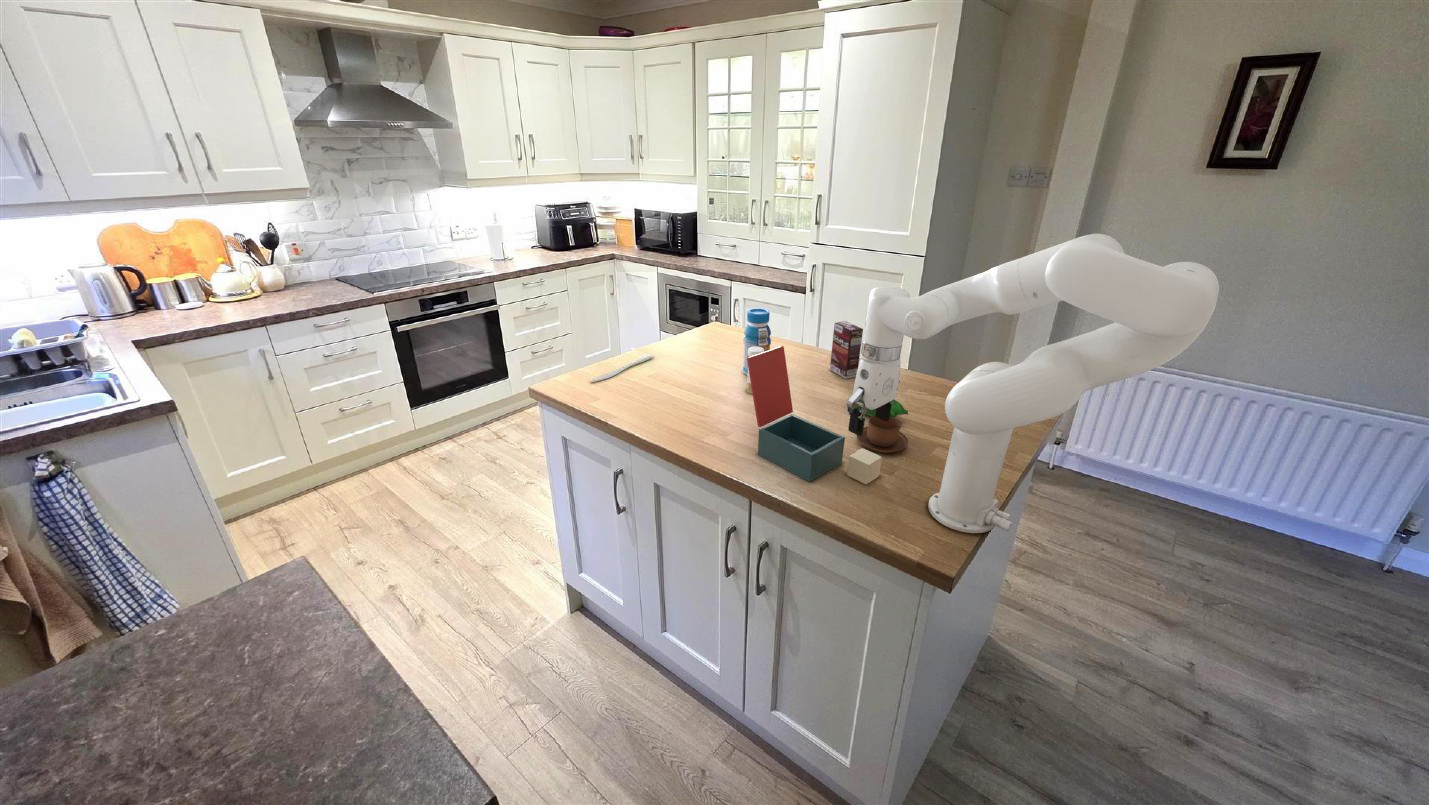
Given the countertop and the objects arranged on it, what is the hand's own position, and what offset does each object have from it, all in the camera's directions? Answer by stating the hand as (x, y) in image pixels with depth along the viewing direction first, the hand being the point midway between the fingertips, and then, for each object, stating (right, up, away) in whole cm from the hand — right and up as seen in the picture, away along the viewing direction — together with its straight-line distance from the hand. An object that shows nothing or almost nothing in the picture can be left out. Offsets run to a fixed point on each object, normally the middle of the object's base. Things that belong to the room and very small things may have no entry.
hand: (868, 425), depth 116 cm
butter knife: (-62, +16, +60) cm, 87 cm away
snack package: (+11, +2, +32) cm, 34 cm away
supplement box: (+8, +14, +57) cm, 60 cm away
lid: (-19, +9, +11) cm, 24 cm away
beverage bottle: (-20, +14, +58) cm, 63 cm away
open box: (-13, -8, +11) cm, 19 cm away
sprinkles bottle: (-21, +8, +45) cm, 50 cm away
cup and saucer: (+8, -5, +17) cm, 20 cm away
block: (0, -11, +5) cm, 12 cm away
